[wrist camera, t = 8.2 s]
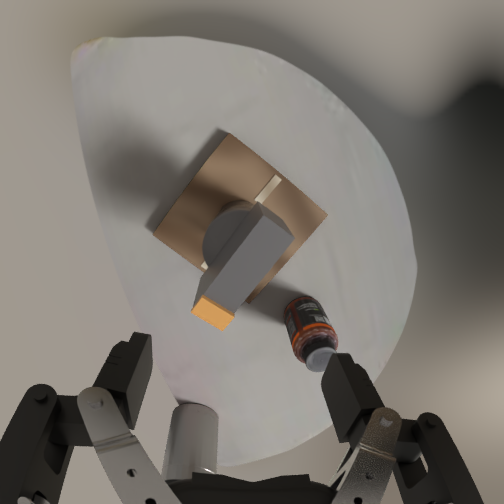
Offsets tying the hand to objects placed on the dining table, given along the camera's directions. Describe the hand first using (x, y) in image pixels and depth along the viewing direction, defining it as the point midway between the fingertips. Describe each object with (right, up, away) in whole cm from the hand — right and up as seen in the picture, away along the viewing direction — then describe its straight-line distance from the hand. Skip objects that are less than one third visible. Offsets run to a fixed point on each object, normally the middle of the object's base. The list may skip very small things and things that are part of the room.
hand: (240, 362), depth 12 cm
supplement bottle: (+8, -4, +31) cm, 32 cm away
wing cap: (-1, +6, +17) cm, 18 cm away
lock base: (-1, +9, +25) cm, 27 cm away
